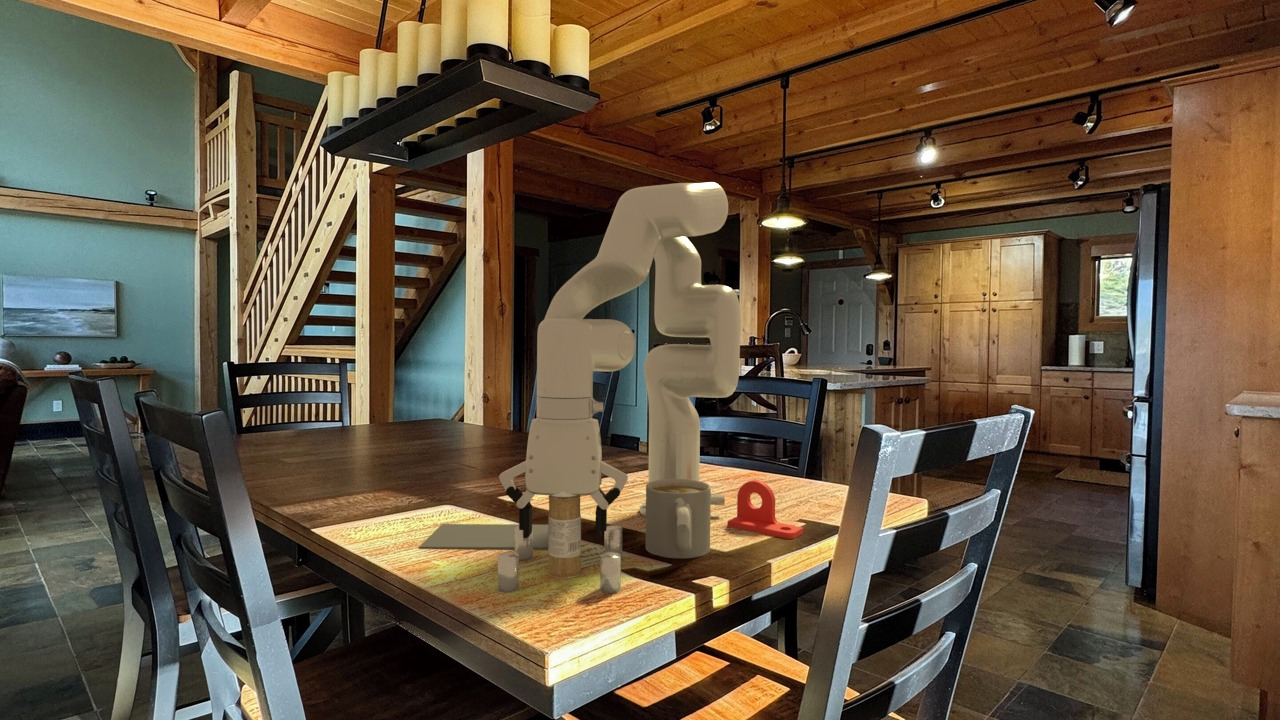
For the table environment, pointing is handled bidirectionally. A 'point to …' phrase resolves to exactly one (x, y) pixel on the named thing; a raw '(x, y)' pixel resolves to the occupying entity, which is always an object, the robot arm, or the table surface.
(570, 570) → the sprinkles bottle
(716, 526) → the table surface
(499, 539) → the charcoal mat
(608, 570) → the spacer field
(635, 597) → the table surface
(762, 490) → the bracket
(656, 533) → the coffee mug
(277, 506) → the table surface
